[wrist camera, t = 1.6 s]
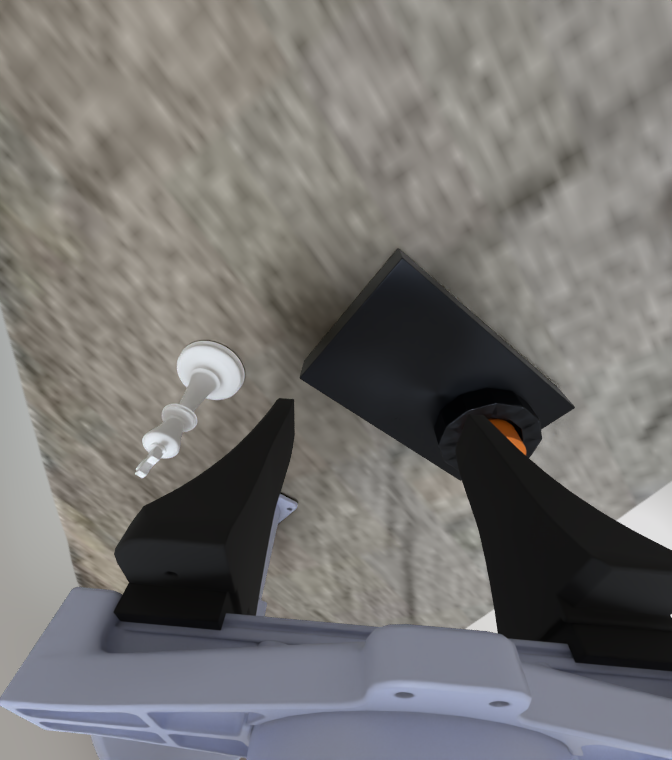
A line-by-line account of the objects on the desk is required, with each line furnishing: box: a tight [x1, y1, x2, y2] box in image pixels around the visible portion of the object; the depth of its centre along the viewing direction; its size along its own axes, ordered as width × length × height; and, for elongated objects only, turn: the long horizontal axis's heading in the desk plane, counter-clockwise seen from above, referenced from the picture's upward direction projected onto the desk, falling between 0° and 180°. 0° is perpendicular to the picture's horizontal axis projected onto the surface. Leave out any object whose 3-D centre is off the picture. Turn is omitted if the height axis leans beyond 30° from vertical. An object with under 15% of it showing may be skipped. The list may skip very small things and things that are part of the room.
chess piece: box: [135, 341, 245, 478], centre depth 21 cm, size 5×5×10 cm
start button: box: [488, 418, 526, 455], centre depth 22 cm, size 4×4×2 cm
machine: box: [300, 249, 575, 481], centre depth 23 cm, size 10×16×4 cm, turn 53°
